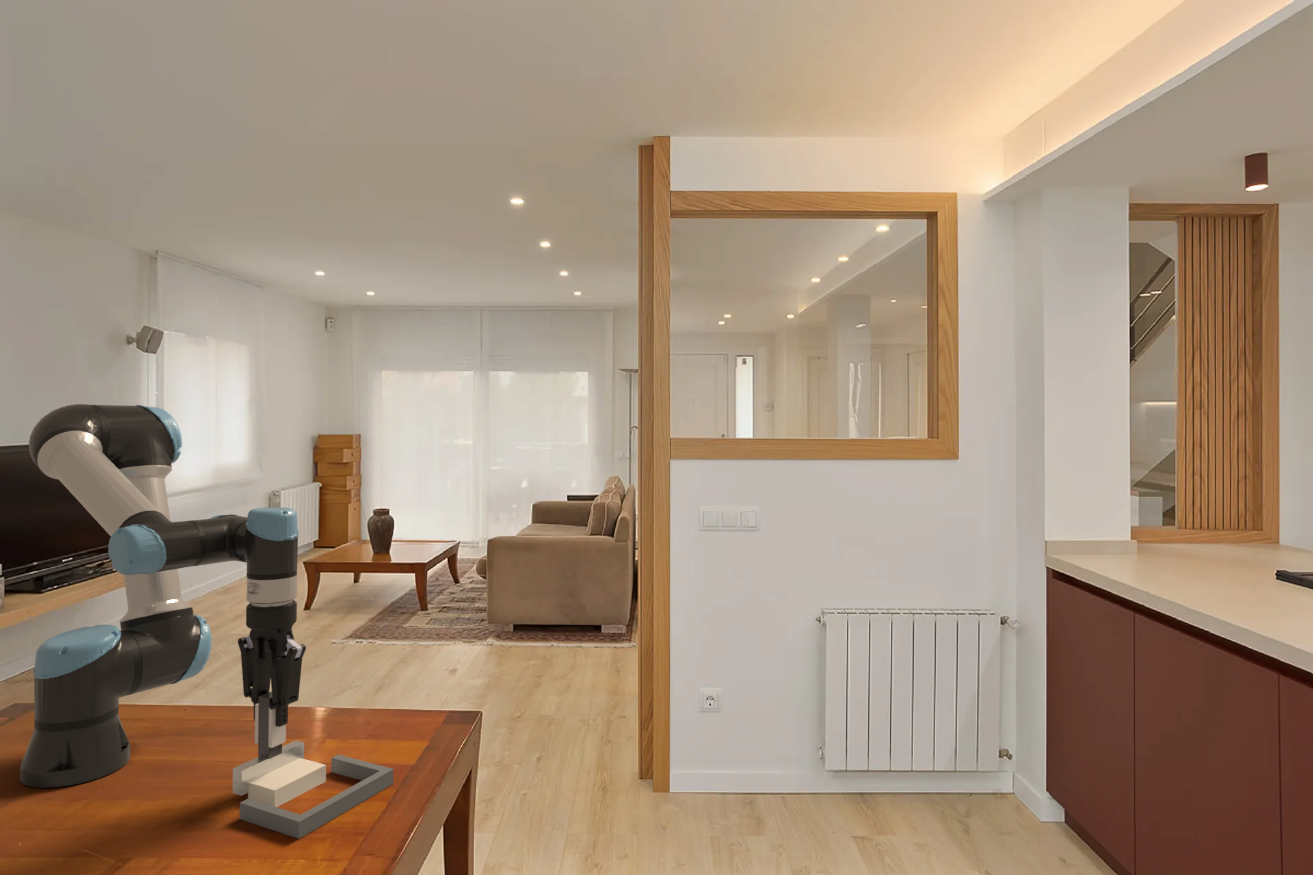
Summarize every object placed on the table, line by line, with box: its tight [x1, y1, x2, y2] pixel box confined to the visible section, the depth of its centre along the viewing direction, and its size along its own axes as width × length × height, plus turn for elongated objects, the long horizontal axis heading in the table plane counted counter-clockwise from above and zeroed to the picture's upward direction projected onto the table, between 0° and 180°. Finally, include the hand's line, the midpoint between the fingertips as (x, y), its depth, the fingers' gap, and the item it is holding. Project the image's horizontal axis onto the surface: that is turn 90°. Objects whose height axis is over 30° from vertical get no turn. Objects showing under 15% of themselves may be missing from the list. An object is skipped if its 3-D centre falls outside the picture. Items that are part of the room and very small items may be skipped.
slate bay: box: [239, 754, 395, 840], centre depth 122 cm, size 12×19×2 cm, turn 156°
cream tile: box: [247, 758, 327, 808], centre depth 125 cm, size 6×10×3 cm, turn 156°
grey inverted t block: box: [232, 691, 305, 797], centre depth 126 cm, size 12×2×14 cm, turn 156°
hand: (270, 742), depth 126 cm, fingers closed on grey inverted t block, 2 cm apart
